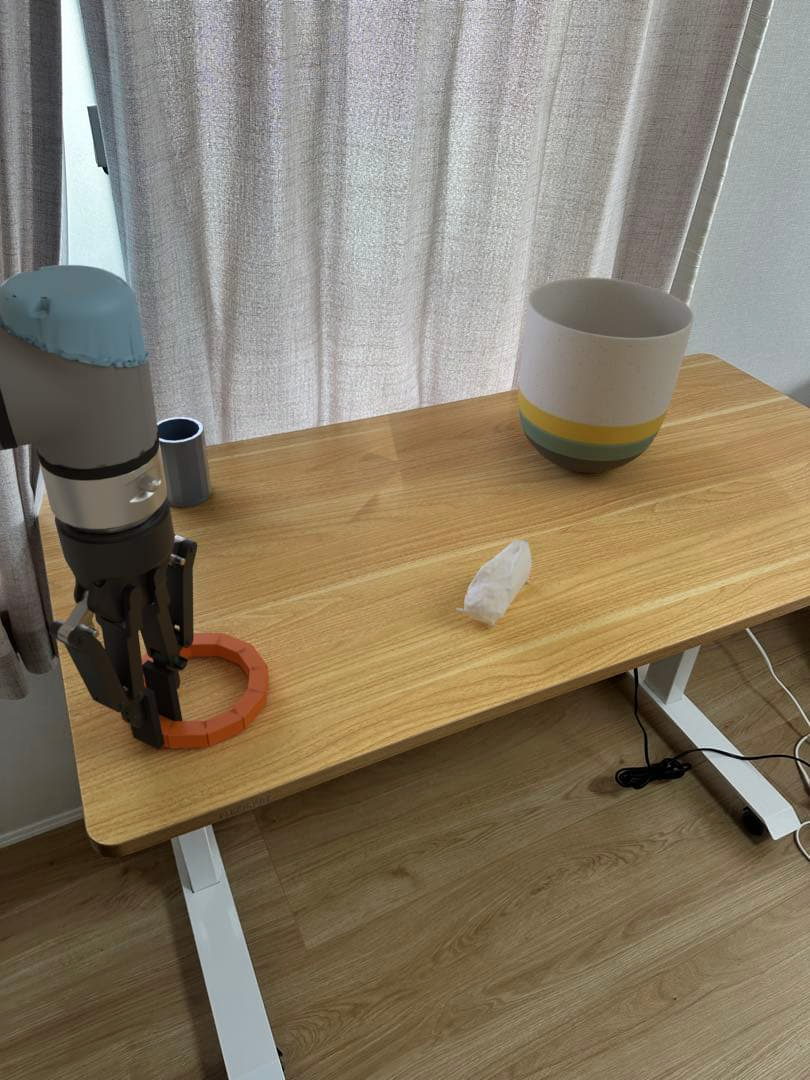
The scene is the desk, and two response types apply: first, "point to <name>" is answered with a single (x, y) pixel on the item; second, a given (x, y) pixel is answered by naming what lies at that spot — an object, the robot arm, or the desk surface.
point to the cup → (184, 461)
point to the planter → (599, 369)
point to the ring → (240, 713)
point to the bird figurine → (498, 583)
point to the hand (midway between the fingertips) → (158, 730)
